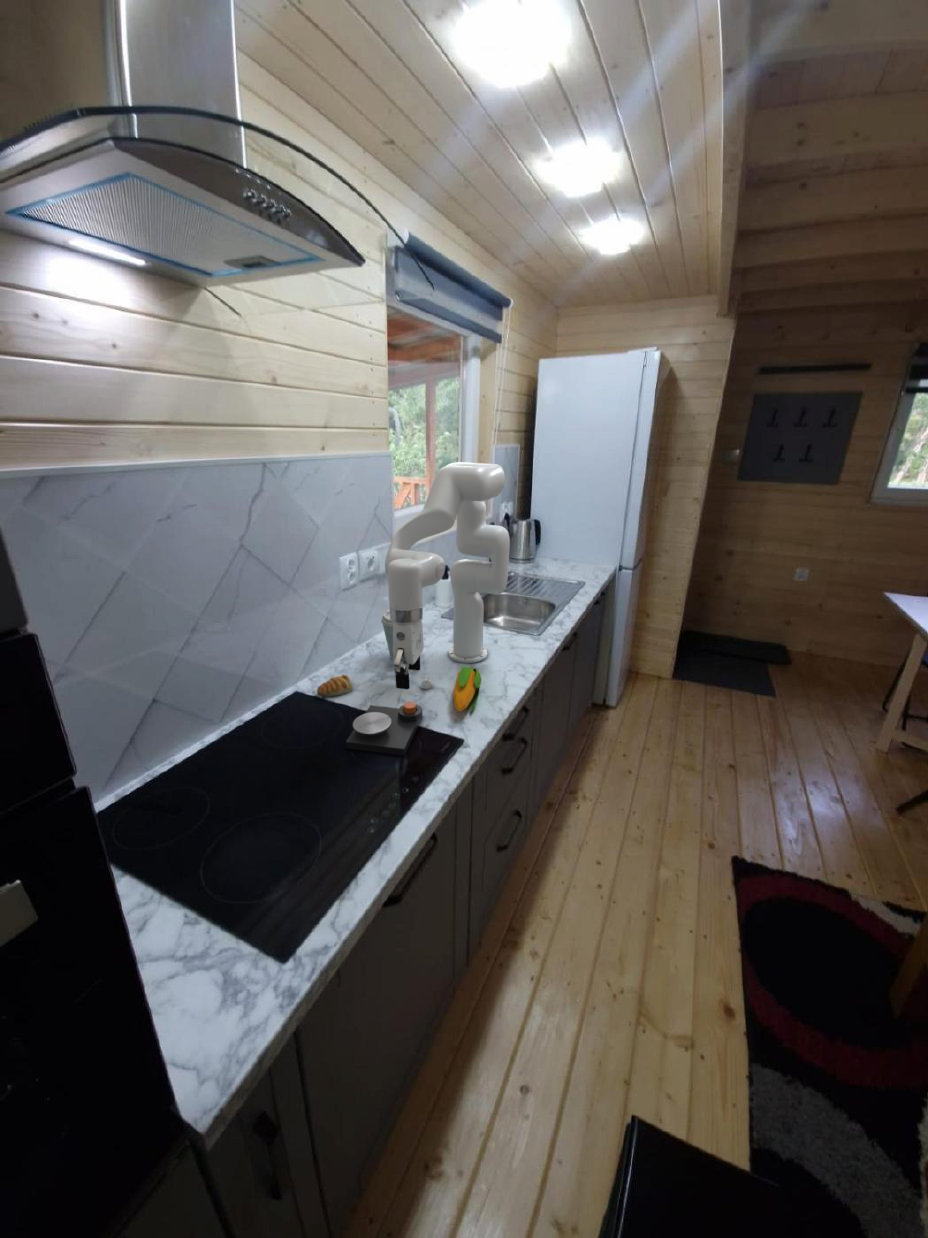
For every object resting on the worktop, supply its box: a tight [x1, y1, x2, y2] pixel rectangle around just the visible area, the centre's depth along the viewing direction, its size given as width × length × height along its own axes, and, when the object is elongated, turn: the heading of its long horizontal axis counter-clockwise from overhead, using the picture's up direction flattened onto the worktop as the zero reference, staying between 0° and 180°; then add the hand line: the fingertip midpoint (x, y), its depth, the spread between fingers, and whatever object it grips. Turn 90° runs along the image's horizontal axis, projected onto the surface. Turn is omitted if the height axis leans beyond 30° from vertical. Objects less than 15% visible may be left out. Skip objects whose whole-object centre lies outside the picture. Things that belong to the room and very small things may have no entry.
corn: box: [452, 666, 482, 712], centre depth 133 cm, size 7×8×20 cm
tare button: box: [403, 701, 417, 714], centre depth 124 cm, size 3×3×2 cm
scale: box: [345, 703, 424, 757], centre depth 120 cm, size 16×14×4 cm
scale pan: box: [352, 712, 391, 736], centre depth 117 cm, size 9×9×1 cm
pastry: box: [316, 674, 354, 698], centre depth 138 cm, size 9×7×4 cm
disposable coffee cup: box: [380, 609, 406, 661], centre depth 156 cm, size 11×11×15 cm
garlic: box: [420, 676, 433, 690], centre depth 141 cm, size 3×4×3 cm
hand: (408, 678), depth 120 cm, fingers open, 9 cm apart
